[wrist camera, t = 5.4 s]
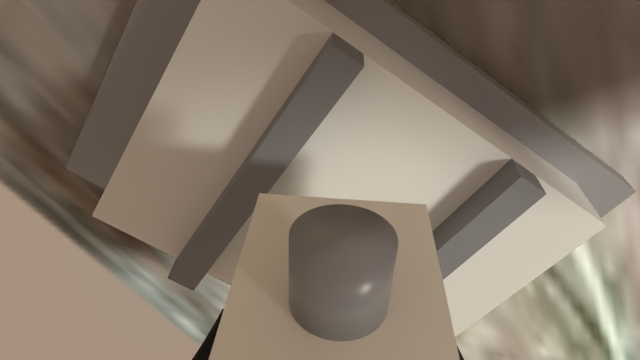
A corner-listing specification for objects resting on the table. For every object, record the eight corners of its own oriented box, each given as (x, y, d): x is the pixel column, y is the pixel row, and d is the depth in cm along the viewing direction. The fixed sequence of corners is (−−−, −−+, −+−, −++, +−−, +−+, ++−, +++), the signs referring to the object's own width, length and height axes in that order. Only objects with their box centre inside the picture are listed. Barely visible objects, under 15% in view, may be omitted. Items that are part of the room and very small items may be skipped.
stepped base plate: (623, 176, 18) (693, 256, 14) (417, 336, 24) (429, 423, 20) (206, -139, 13) (148, -144, 10) (77, 155, 19) (9, 224, 15)
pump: (437, 149, 10) (492, 335, 6) (395, 362, 14) (411, 562, 10) (257, 137, 10) (190, 311, 6) (265, 352, 15) (229, 544, 10)
